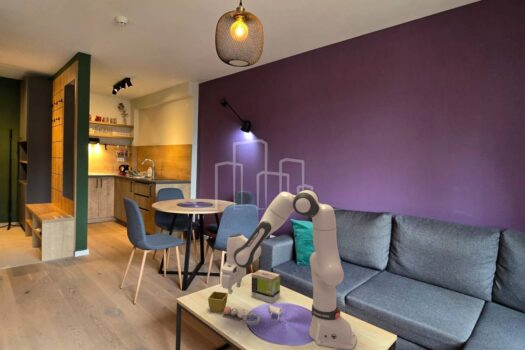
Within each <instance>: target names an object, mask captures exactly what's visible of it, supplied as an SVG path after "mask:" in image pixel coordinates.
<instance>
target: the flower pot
mask: <svg viewBox="0 0 525 350" xmlns="http://www.w3.org/2000/svg"><path fill="white" fill-rule="evenodd" d="M228 295H229V293H228V292H223V291H214V290H213V292H212V293H210V295H209V296H208V298H207V301H208V308H209V310H210V311H211V312H212V313H213V312H215V313H219V314H220V313H221V314H222V313H223V312H224V308H225V307H227V306H226V305H227V302H228V297H229V296H228Z"/></svg>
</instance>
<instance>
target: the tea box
mask: <svg viewBox="0 0 525 350" xmlns="http://www.w3.org/2000/svg"><path fill="white" fill-rule="evenodd" d="M280 293H281V274H280V273H276V272H272V271H268V270H264V269H259V270H257V271H255V272H253V273H251V298H254V299H257V300H260V301H263V302H266V303H270V304H273V303H274V302H276V301H278V299H280V297H281V294H280Z"/></svg>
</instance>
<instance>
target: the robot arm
mask: <svg viewBox="0 0 525 350" xmlns="http://www.w3.org/2000/svg"><path fill="white" fill-rule="evenodd" d="M319 199H320V198H319V195H318V194H317V192H315V191H314V190H313V189H309V188H308V189H304V190H301V191H299V192H297V193H295V194H292V193H291V192H288V191H281V192H280V193H279V194H278V195H276V197H275V198H274V199H273V200H272V201H271V203H270V204H269V205H268V207H267V208H266V209H265V212H264V213H263V215H262V217H261V219H260V221H259V223H258V224H257V226H256V228H255V229H254V230H253V233H252V234H250V236H249V238H247V237H245V236H244V235H243V233H234V234H231V235H229V236H228V237H227V241H226V254H227V255H226V261H225V262H224V264H223V266H222V267H221V269H220V270H221V273H222V274H221V287H222V288H223V289H227V290H228V291H227V293H228V295H232V294H233V293H234V292H233V291H234V289H232V288H233V286H234V285H235V284H236V288H240V287H241V283H242V280H243V278H245V276H247V268H249V267H250V266H251V265H252V264H253V263H254V262H255V261H256V260H257V259H258V258H259V257H260V256H261V255H262V247H261V245H262V244H263V242H264V241H265V240H266V238H268V237H269V236H271V234H273V233H274V232H276V231H277V230H279V228H281V227H282V226H283V225H284V224H285V222H286V221H287V220H288V218H289V217H290V216H291V215H292V214H293V212H296V213H297V214H298V215H300V216H302V217H303V216H304V217H306V218H307V217H308V218H311V220H312V241H313V248H314V252H312V253H311V255H310V257H309V264H310V270H311V282H312V288H313V289H312V294H313V295H312V304H311V323H310V327H309V329H308V335H309V337H310V338H311V339H312V340H314V342H315V344H317V345H318V346H322V347H328V348H335V349H340V350H353V349H355V347H356V345H357V342H358V341H357V340H358V339H357V334H356V333H355V332H354V331H353V330H352V326H351V324H350V322H349V321H347V320H346V319H345V318H344V317H343V316H342V315H341V307H339V308H338V307H337V289H336V286H339V285H340V284H341V283H342V282H343V280H344V277H345V273H344V270H343V269H344V268H343V267H342V264H341V256H340V254H339V246H338V241H337V220H336V214H335V209H334V207H332V206H331V205H330V204H327V203H321V202H319V201H320V200H319Z"/></svg>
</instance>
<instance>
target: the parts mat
mask: <svg viewBox="0 0 525 350" xmlns="http://www.w3.org/2000/svg"><path fill="white" fill-rule="evenodd" d="M221 317H222V318H225V319H228V320H232V321H237V322H239V323H240V322H241V321H243V318H239V317H238V315H237V316H232V315H231V313H230V314H228V315H226V314H225V313H224V314H223V315H222V316H221Z"/></svg>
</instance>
